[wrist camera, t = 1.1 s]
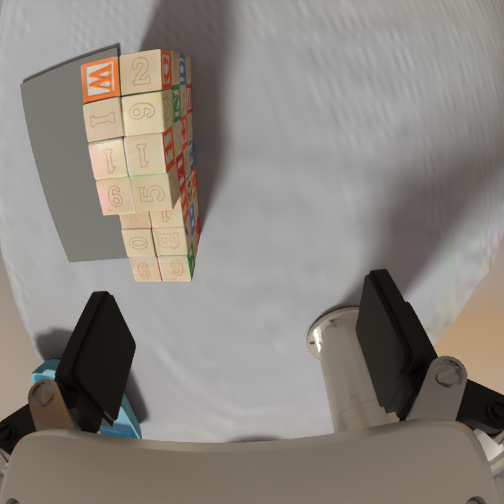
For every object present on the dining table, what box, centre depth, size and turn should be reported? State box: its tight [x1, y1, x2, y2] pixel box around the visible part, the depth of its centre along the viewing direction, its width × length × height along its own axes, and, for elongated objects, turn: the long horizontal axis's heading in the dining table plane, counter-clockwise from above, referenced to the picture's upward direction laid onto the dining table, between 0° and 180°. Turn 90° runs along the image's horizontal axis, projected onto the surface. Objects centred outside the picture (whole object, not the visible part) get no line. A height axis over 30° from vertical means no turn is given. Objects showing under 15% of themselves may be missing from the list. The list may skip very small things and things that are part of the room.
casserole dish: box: [31, 359, 142, 439], centre depth 58 cm, size 37×22×7 cm, turn 176°
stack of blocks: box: [81, 49, 200, 282], centre depth 27 cm, size 21×6×12 cm, turn 0°
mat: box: [20, 47, 129, 262], centre depth 32 cm, size 14×26×1 cm, turn 4°
